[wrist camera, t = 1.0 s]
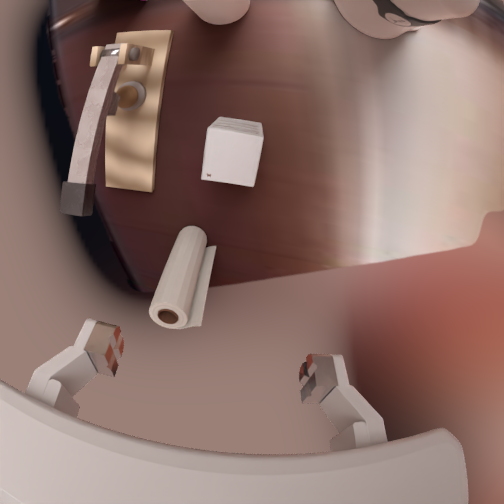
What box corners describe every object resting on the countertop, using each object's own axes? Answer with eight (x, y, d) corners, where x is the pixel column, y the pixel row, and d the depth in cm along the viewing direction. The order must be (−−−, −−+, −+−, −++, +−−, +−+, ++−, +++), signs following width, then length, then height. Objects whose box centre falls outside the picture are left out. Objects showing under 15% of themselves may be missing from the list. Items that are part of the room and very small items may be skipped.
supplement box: (254, 162, 46) (254, 189, 36) (212, 155, 45) (198, 180, 35) (263, 122, 42) (265, 136, 32) (219, 114, 41) (206, 127, 31)
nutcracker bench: (120, 33, 31) (84, 26, 21) (173, 31, 32) (147, 18, 22) (109, 183, 48) (79, 211, 38) (154, 189, 49) (130, 220, 39)
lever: (115, 57, 29) (102, 43, 24) (136, 56, 29) (125, 40, 24) (78, 210, 33) (59, 212, 28) (99, 213, 34) (81, 216, 29)
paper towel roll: (173, 233, 55) (140, 311, 38) (195, 219, 53) (167, 297, 36) (194, 257, 58) (172, 338, 41) (216, 245, 56) (200, 327, 39)
